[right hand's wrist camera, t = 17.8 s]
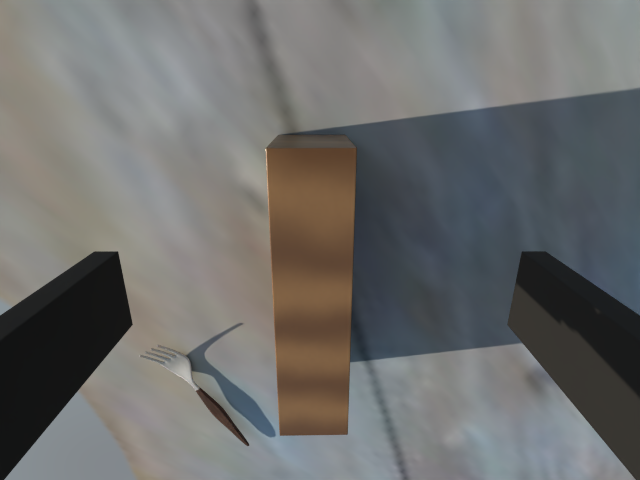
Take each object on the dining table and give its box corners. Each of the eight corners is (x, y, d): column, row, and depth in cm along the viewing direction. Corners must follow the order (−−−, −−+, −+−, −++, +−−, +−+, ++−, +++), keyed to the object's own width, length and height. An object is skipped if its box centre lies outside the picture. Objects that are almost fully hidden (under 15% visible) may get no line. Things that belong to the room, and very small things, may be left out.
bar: (278, 134, 31) (265, 148, 23) (345, 134, 31) (357, 147, 23) (286, 364, 39) (279, 435, 31) (340, 364, 39) (347, 434, 31)
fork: (239, 446, 42) (236, 462, 41) (145, 344, 38) (136, 356, 36) (259, 436, 42) (256, 452, 40) (166, 332, 37) (158, 344, 35)
